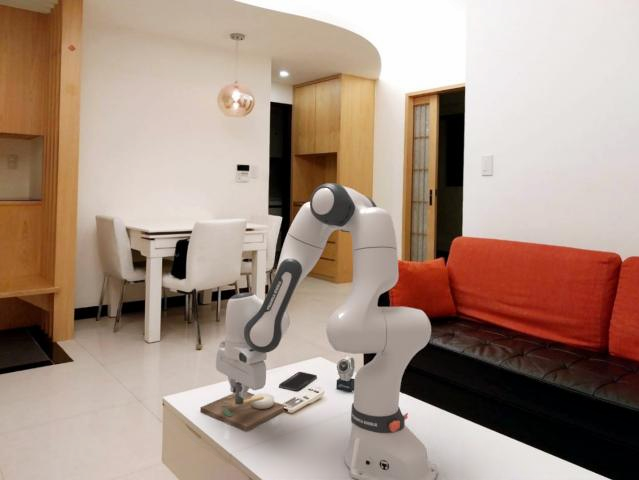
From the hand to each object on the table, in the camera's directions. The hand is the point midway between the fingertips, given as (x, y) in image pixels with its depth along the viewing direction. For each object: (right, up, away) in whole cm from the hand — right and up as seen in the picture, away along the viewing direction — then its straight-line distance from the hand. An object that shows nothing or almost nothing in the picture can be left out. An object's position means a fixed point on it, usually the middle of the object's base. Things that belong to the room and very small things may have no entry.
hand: (238, 394), depth 143 cm
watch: (+33, -6, +24) cm, 41 cm away
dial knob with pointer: (+4, -5, +4) cm, 7 cm away
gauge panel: (+1, -6, +5) cm, 8 cm away
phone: (+16, -5, +29) cm, 33 cm away
